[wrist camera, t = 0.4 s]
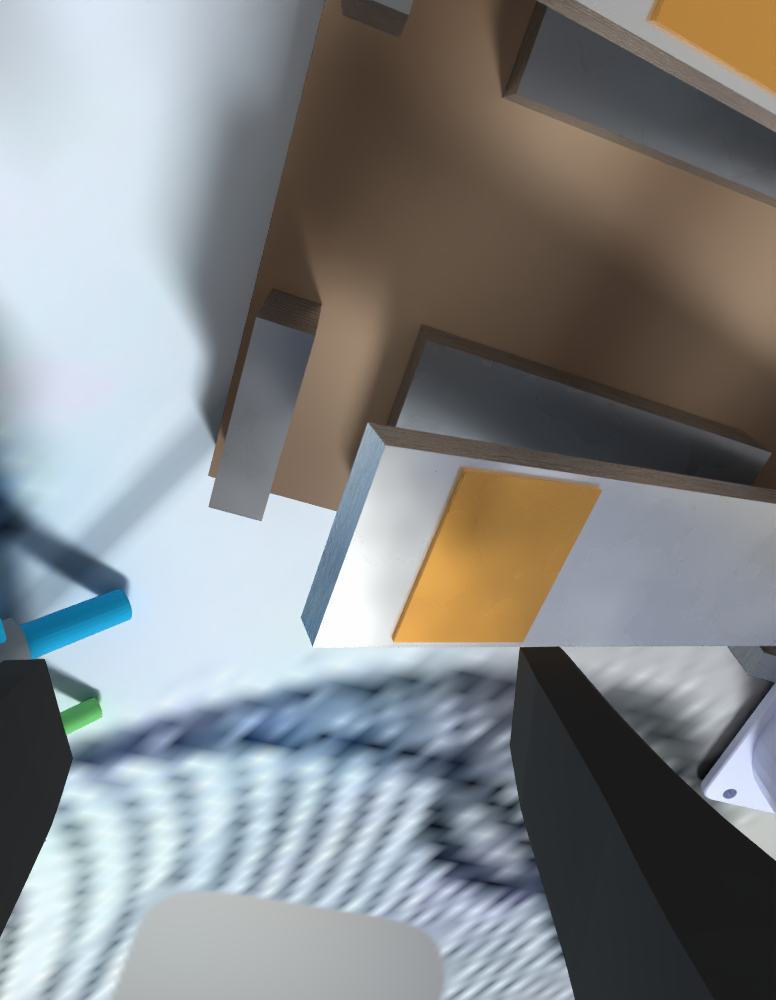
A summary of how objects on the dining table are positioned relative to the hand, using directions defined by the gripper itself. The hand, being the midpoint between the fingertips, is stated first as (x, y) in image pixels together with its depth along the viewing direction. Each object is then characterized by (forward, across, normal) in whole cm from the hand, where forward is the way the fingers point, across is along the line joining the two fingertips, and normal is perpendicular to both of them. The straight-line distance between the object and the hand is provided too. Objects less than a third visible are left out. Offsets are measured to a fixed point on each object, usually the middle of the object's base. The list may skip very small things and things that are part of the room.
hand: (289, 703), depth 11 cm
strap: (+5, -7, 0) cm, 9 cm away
